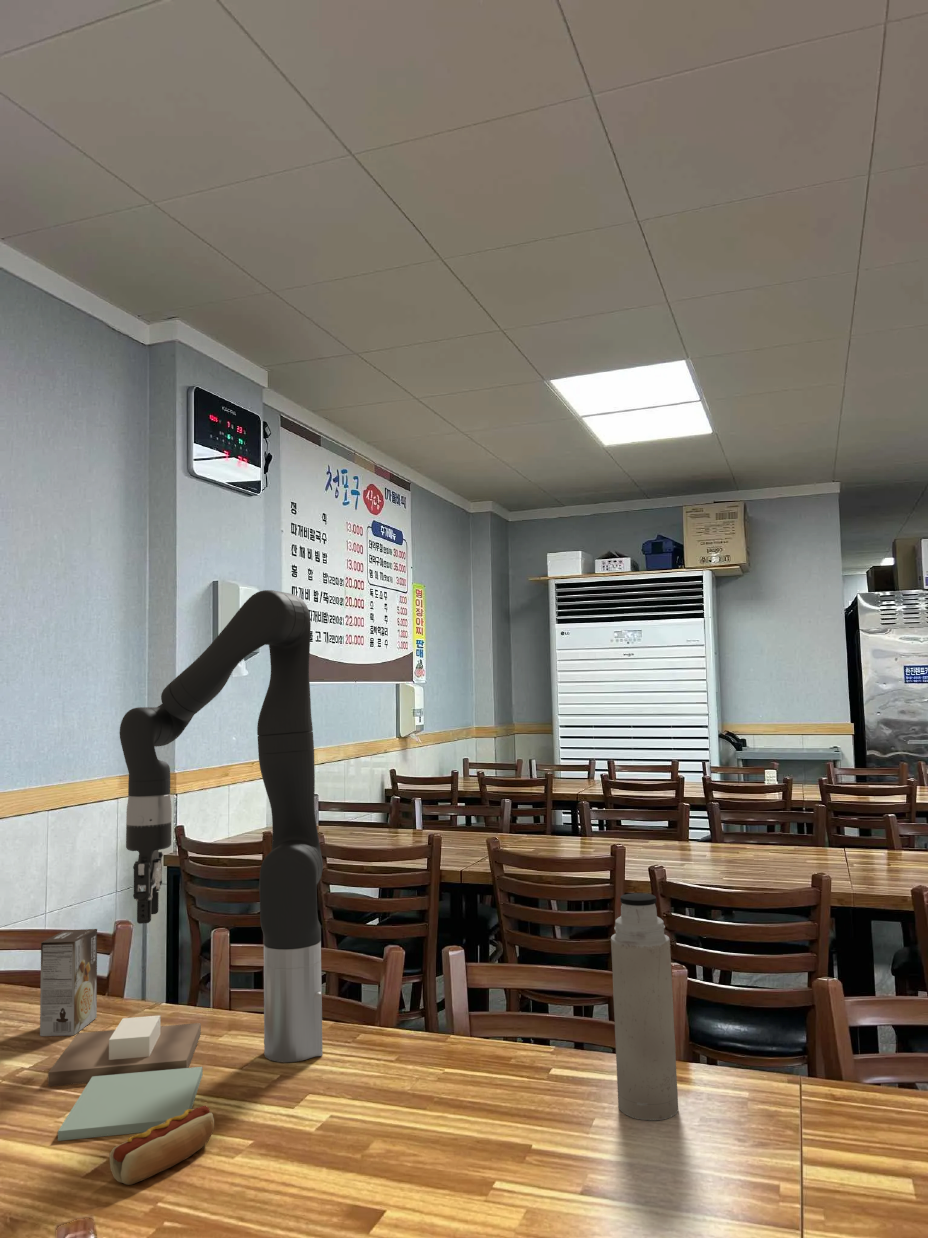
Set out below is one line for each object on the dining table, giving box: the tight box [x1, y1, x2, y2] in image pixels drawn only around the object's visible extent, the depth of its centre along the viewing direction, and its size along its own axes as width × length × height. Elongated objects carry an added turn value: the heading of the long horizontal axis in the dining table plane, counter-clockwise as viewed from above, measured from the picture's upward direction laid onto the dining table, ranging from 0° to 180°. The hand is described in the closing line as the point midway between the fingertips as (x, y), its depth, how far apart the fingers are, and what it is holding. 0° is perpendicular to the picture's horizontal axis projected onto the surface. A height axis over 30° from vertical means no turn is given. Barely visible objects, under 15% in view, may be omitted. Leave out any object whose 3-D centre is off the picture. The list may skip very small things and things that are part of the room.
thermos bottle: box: [610, 892, 679, 1121], centre depth 123 cm, size 8×8×28 cm
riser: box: [47, 1022, 202, 1087], centre depth 144 cm, size 20×17×2 cm
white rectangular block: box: [109, 1015, 161, 1060], centre depth 144 cm, size 6×10×3 cm, turn 9°
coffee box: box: [39, 928, 98, 1037], centre depth 161 cm, size 9×6×16 cm
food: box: [108, 1105, 215, 1186], centre depth 110 cm, size 14×6×5 cm, turn 147°
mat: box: [57, 1066, 203, 1142], centre depth 127 cm, size 16×18×1 cm
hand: (148, 918), depth 156 cm, fingers open, 6 cm apart
